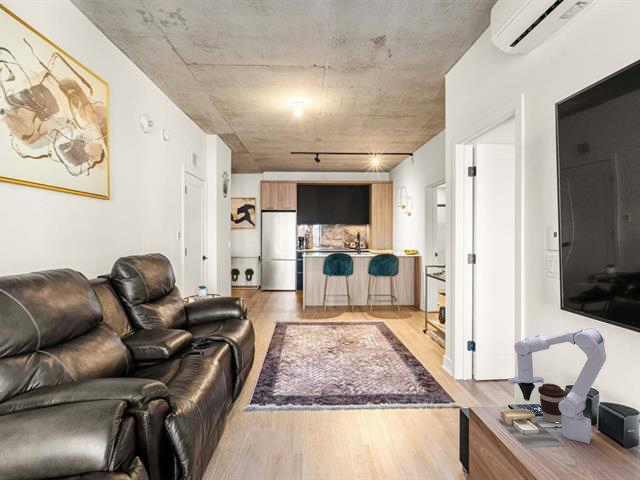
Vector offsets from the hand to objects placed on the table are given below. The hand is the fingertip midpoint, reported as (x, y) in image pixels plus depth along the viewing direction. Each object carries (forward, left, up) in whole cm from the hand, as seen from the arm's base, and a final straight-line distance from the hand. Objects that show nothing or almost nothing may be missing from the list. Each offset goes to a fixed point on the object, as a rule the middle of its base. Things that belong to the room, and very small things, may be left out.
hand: (526, 399), depth 159 cm
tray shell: (0, +8, -9) cm, 12 cm away
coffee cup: (-8, -7, -10) cm, 14 cm away
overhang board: (-3, +10, -9) cm, 14 cm away
